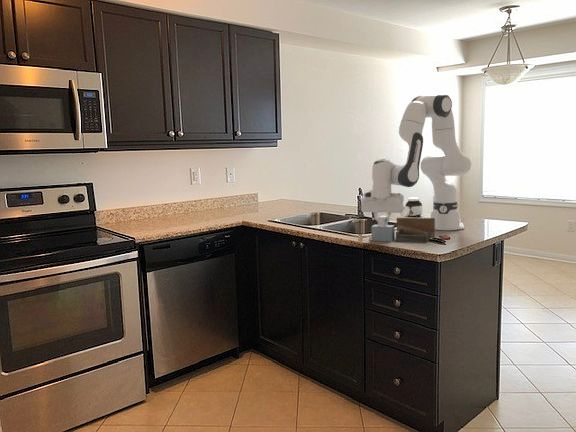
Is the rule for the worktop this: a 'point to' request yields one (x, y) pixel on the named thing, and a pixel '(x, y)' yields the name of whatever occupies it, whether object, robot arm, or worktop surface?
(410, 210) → the spread jar
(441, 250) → the worktop surface
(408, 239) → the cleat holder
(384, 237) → the grey stepped block
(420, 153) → the robot arm
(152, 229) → the worktop surface
